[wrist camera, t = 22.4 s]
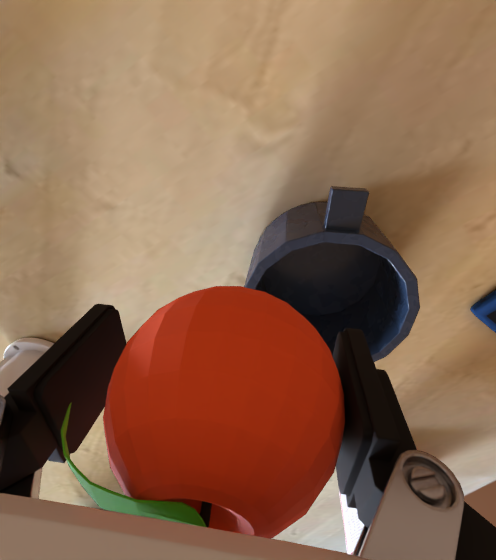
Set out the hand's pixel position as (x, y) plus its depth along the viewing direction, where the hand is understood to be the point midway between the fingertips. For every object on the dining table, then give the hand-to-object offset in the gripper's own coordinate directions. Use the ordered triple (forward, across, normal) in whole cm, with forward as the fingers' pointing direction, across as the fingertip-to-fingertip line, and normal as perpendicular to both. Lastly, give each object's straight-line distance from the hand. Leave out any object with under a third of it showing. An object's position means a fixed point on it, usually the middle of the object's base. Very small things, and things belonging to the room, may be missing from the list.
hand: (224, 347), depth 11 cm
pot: (+20, -6, +6) cm, 22 cm away
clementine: (+2, 0, 0) cm, 2 cm away
